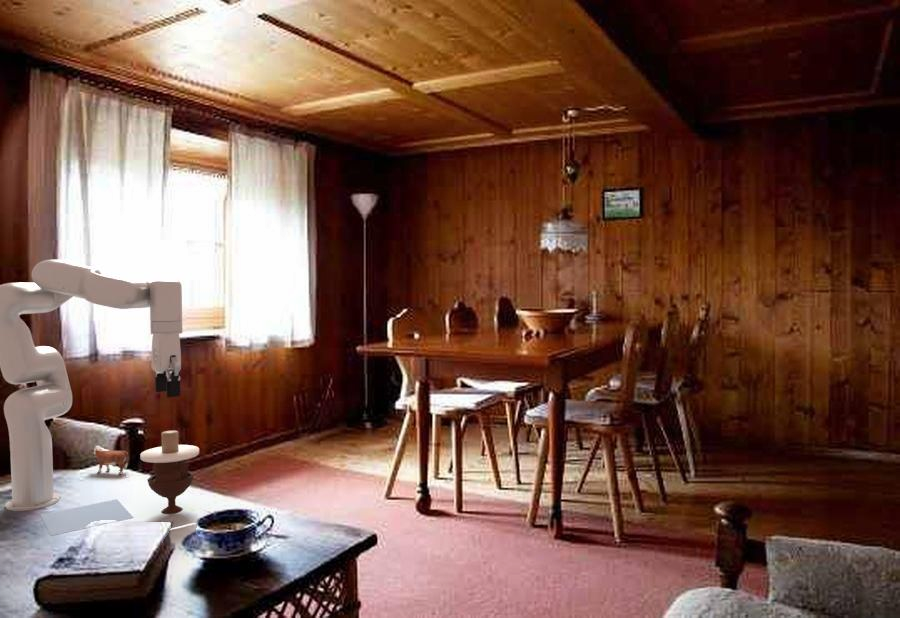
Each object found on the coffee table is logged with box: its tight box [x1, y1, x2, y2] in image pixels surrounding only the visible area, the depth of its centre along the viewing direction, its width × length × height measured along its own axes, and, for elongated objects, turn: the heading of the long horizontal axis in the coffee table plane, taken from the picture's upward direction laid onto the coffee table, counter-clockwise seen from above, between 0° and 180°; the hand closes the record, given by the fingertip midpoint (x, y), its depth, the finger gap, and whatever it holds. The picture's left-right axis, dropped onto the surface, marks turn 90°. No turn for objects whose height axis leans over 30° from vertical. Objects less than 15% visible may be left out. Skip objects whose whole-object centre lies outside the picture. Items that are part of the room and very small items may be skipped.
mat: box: [39, 498, 134, 537], centre depth 166 cm, size 18×18×1 cm
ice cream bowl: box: [147, 460, 195, 515], centre depth 169 cm, size 11×11×15 cm
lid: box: [139, 430, 200, 464], centre depth 169 cm, size 14×14×6 cm
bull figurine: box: [90, 445, 129, 475], centre depth 205 cm, size 4×13×8 cm, turn 73°
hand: (167, 393), depth 168 cm, fingers open, 9 cm apart
